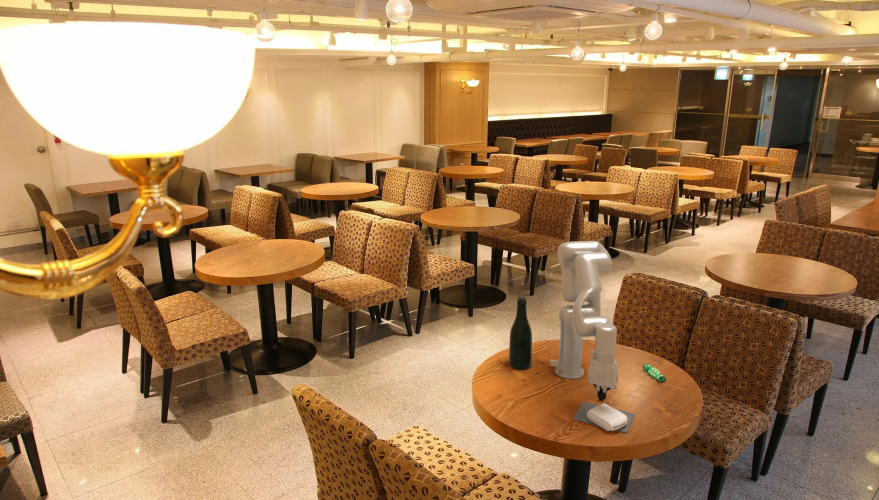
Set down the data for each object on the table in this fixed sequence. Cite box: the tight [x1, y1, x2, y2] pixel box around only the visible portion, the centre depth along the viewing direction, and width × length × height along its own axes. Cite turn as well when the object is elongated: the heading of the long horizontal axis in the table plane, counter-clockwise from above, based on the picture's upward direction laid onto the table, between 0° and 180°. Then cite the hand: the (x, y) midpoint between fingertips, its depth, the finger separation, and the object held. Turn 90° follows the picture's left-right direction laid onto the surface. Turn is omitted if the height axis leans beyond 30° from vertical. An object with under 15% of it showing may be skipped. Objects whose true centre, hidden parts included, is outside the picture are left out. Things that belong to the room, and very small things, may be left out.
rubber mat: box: [572, 401, 635, 434], centre depth 225 cm, size 20×14×1 cm
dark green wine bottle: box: [508, 295, 533, 370], centre depth 263 cm, size 10×10×33 cm
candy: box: [642, 363, 667, 383], centre depth 255 cm, size 12×3×4 cm
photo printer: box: [587, 403, 628, 432], centre depth 220 cm, size 10×4×12 cm
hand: (601, 399), depth 224 cm, fingers closed
